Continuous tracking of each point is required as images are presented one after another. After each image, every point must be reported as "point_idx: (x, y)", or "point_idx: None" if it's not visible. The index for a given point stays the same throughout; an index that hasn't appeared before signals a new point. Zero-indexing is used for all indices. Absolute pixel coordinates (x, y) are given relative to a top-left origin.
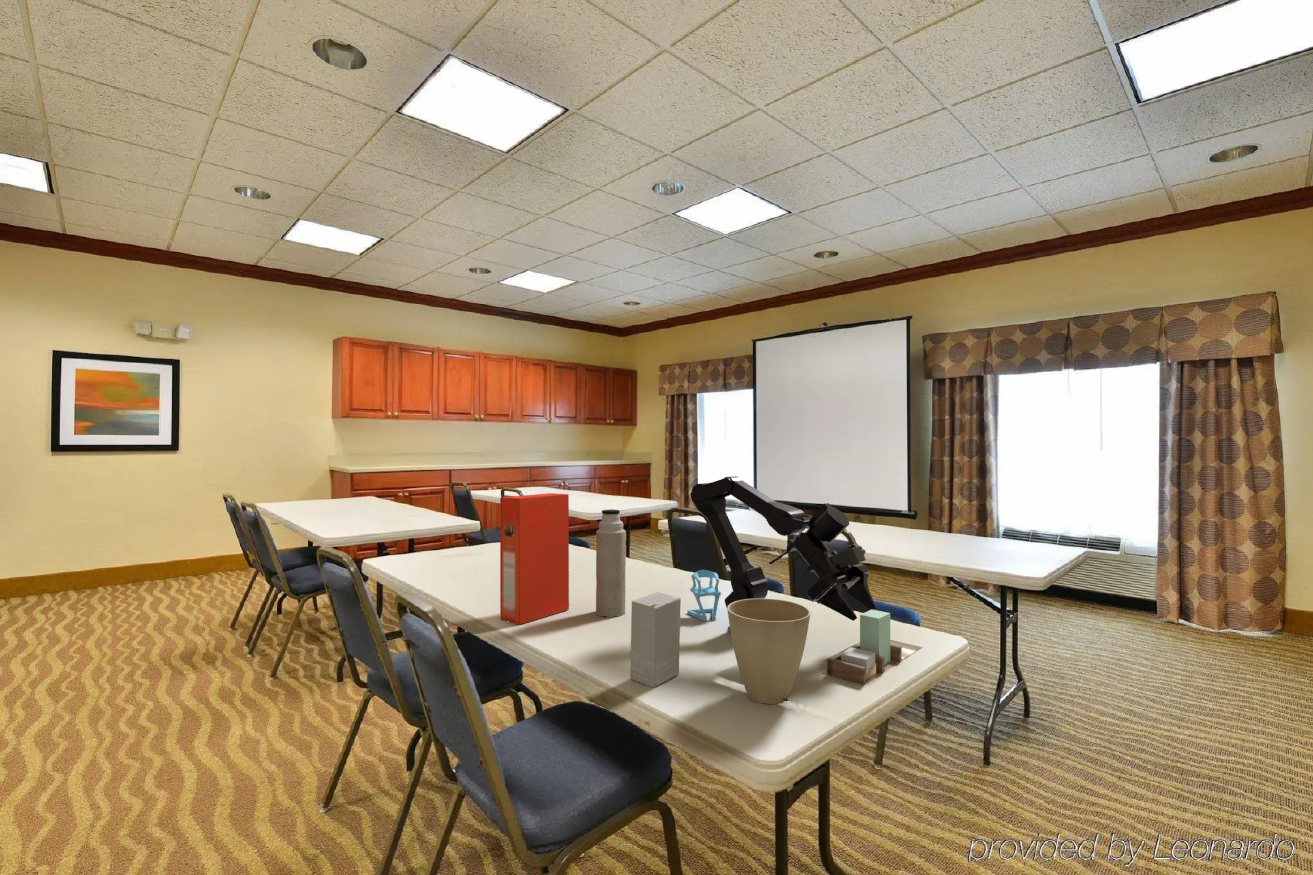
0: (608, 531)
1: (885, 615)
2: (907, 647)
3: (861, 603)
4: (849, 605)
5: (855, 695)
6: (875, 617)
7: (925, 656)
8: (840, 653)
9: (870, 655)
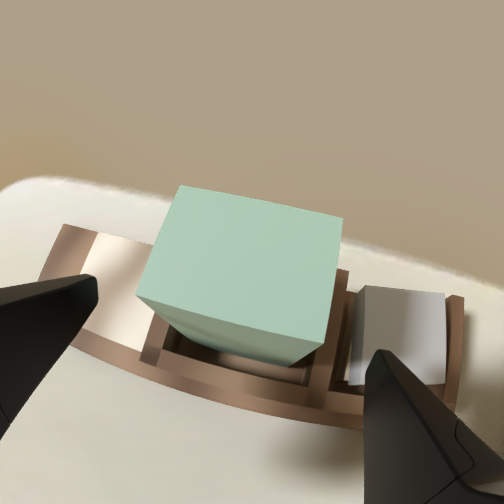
0: None
1: (247, 198)
2: (73, 256)
3: (49, 368)
4: (416, 400)
5: (465, 321)
6: (331, 239)
7: (99, 219)
8: None
9: (403, 292)
